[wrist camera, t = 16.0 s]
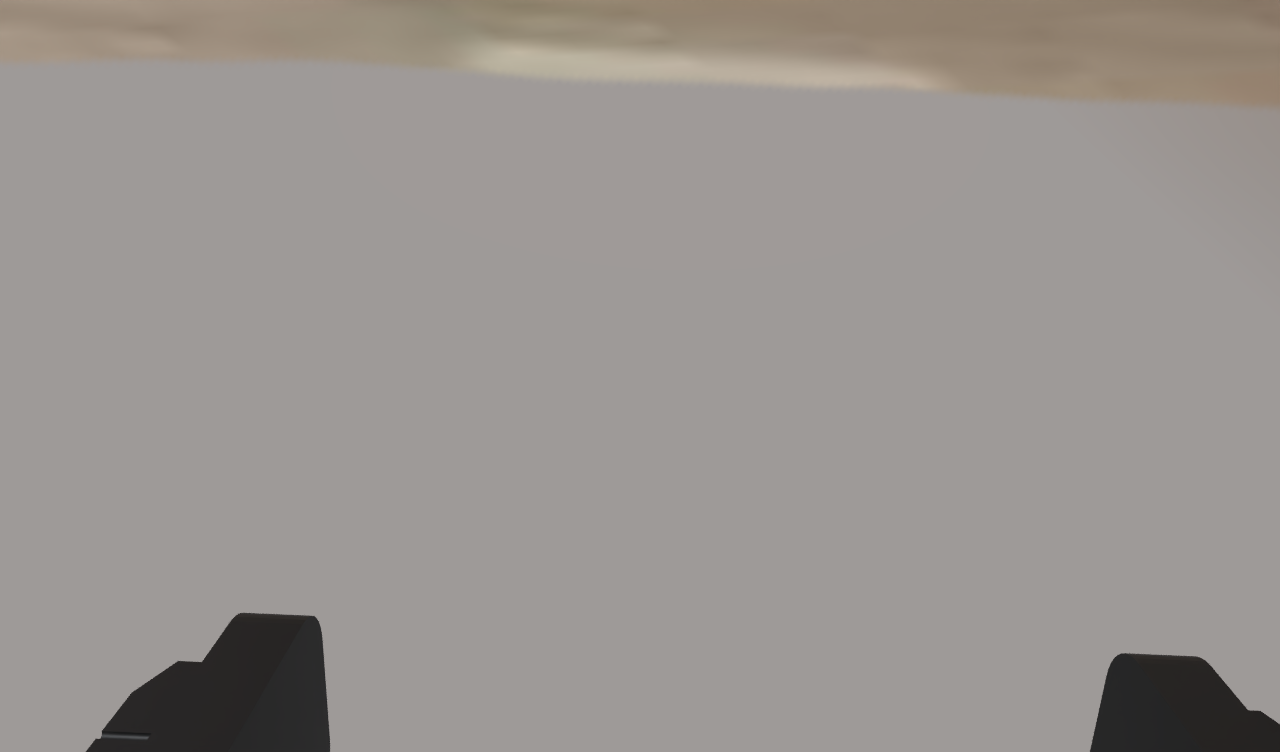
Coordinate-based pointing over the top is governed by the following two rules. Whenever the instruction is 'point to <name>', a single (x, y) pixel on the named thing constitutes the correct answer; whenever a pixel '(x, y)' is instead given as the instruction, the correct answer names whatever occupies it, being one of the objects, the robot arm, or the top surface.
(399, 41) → the top surface
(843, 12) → the top surface
